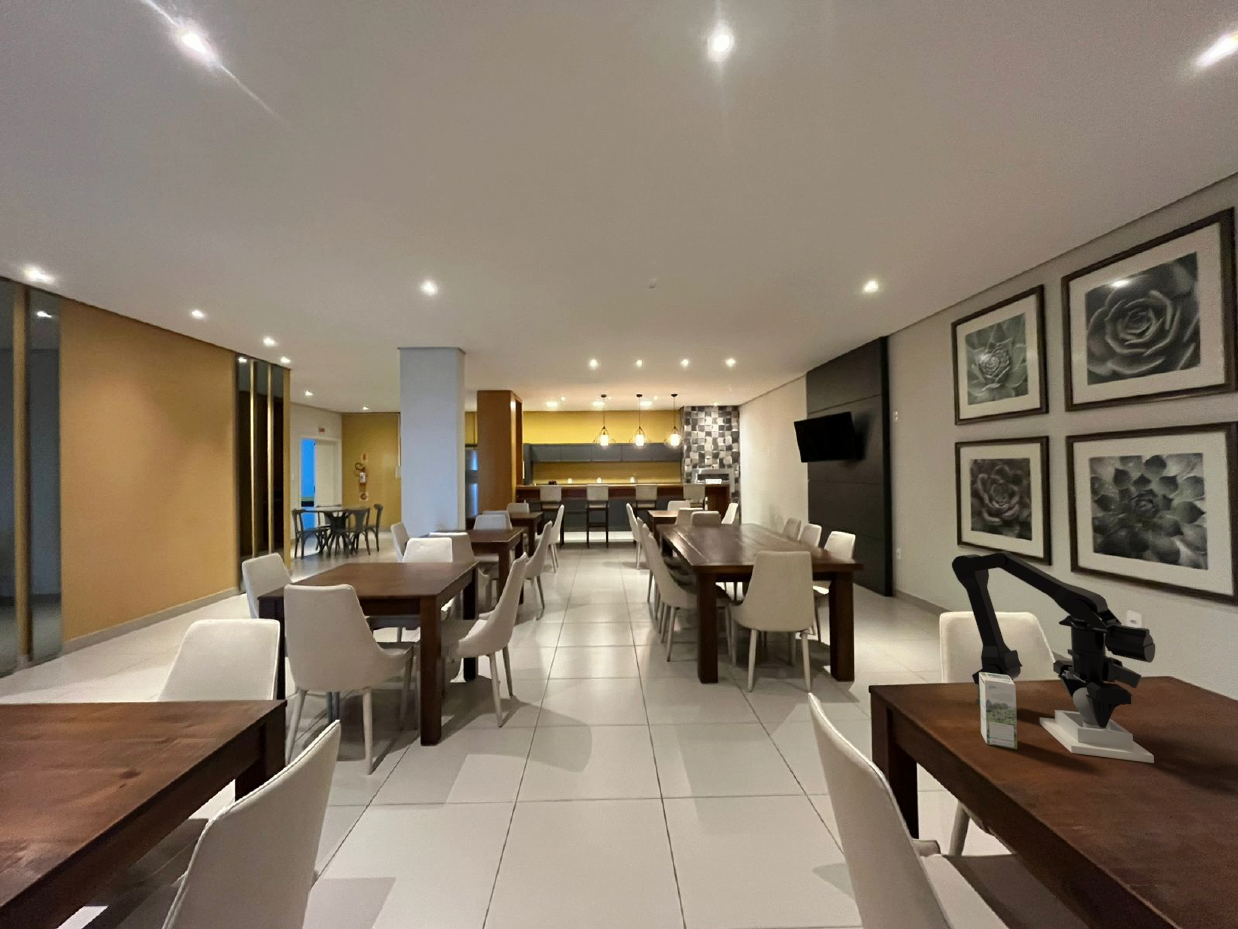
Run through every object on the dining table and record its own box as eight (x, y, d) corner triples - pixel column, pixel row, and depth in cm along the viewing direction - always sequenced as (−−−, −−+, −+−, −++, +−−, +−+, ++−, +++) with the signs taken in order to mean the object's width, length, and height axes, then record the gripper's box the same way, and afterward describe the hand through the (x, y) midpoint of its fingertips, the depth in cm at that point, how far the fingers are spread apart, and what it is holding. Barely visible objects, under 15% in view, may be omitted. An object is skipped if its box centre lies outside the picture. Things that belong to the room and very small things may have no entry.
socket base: (1071, 752, 109) (1070, 731, 110) (1039, 723, 123) (1039, 704, 123) (1153, 763, 105) (1152, 741, 105) (1111, 731, 119) (1110, 712, 119)
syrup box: (1010, 738, 116) (1008, 674, 116) (1018, 751, 110) (1015, 683, 111) (980, 733, 118) (978, 670, 119) (986, 745, 113) (984, 679, 113)
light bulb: (1066, 726, 118) (1065, 682, 118) (1094, 727, 117) (1093, 684, 117) (1087, 739, 112) (1086, 693, 112) (1117, 741, 111) (1116, 694, 111)
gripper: (1163, 666, 104) (1167, 744, 103) (1107, 640, 121) (1110, 706, 121) (1096, 661, 107) (1099, 737, 106) (1050, 636, 125) (1053, 700, 124)
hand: (1091, 719), depth 114 cm, fingers open, 8 cm apart
